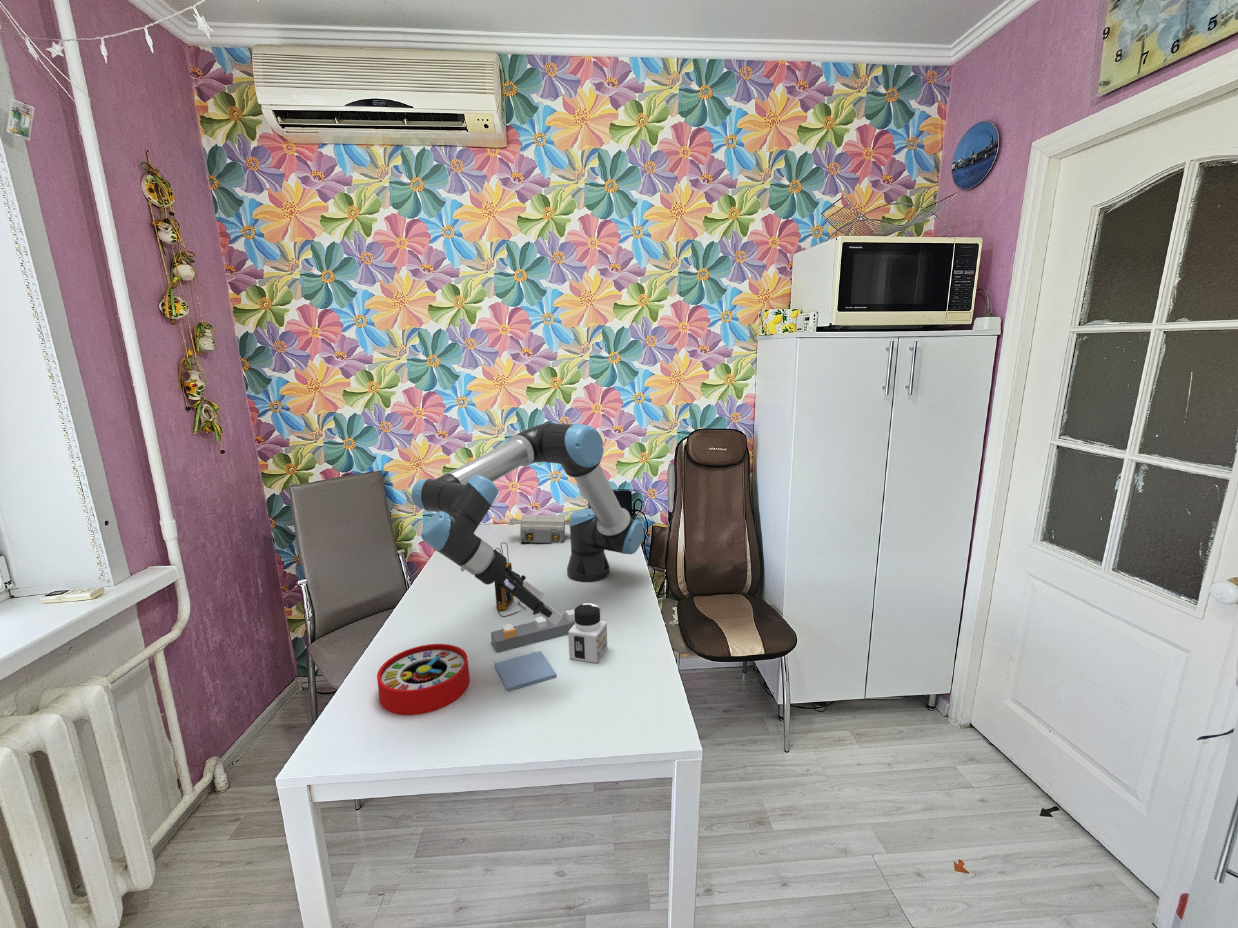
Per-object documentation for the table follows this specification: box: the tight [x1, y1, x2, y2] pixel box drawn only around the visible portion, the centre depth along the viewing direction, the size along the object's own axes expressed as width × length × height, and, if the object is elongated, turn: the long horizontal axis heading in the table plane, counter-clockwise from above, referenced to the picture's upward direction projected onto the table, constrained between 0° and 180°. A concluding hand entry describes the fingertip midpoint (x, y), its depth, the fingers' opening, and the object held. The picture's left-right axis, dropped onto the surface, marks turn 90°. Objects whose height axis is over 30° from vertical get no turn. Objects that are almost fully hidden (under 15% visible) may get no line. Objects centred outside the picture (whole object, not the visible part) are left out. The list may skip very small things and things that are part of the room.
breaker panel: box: [490, 608, 575, 653], centre depth 149 cm, size 26×6×5 cm, turn 116°
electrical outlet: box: [507, 514, 570, 544], centre depth 228 cm, size 12×28×10 cm, turn 94°
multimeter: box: [494, 541, 528, 618], centre depth 166 cm, size 15×10×20 cm
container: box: [567, 602, 608, 664], centre depth 139 cm, size 8×8×13 cm
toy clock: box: [376, 643, 471, 716], centre depth 127 cm, size 20×6×20 cm
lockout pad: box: [494, 650, 558, 692], centre depth 133 cm, size 12×12×1 cm
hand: (549, 608), depth 133 cm, fingers open, 13 cm apart
